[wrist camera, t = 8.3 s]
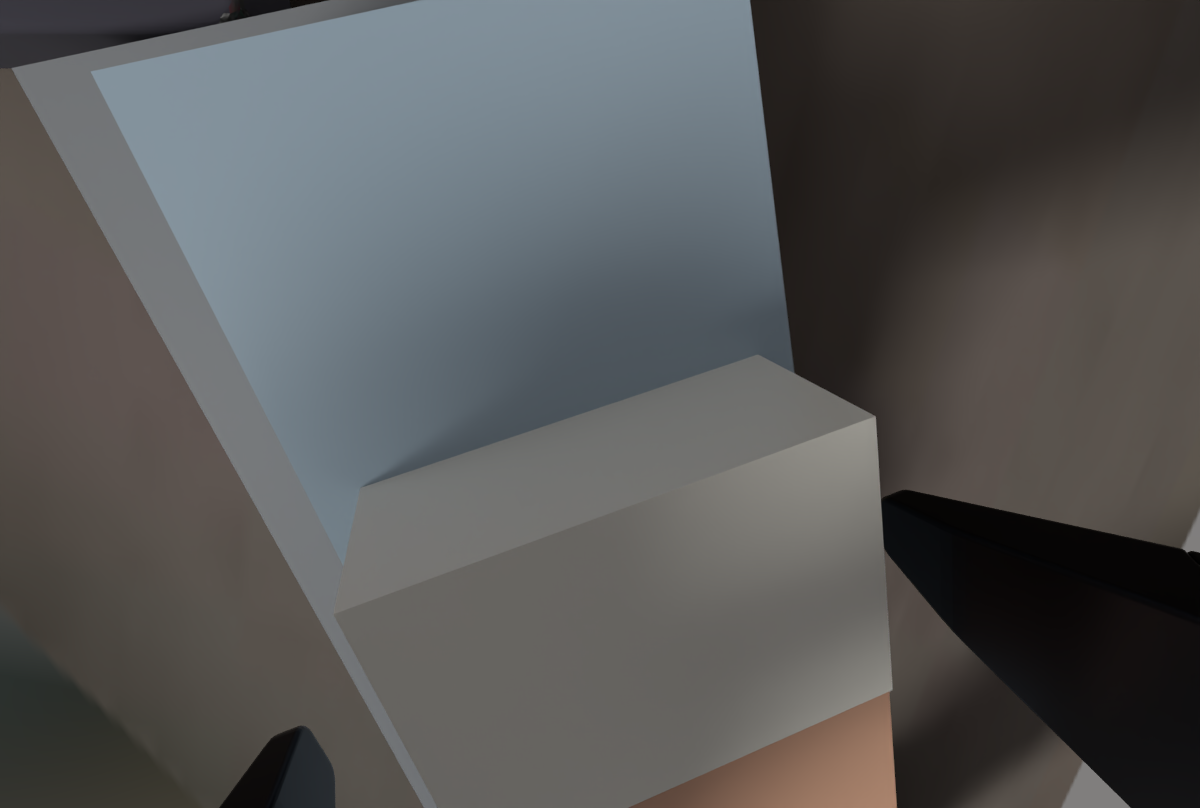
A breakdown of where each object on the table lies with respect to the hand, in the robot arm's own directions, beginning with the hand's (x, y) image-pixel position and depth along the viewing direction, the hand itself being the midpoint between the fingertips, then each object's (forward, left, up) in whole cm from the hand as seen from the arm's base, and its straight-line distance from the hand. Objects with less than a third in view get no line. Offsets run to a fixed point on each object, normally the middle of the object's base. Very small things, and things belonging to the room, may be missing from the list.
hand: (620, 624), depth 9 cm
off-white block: (+2, 0, 0) cm, 2 cm away
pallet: (0, 0, -3) cm, 3 cm away
